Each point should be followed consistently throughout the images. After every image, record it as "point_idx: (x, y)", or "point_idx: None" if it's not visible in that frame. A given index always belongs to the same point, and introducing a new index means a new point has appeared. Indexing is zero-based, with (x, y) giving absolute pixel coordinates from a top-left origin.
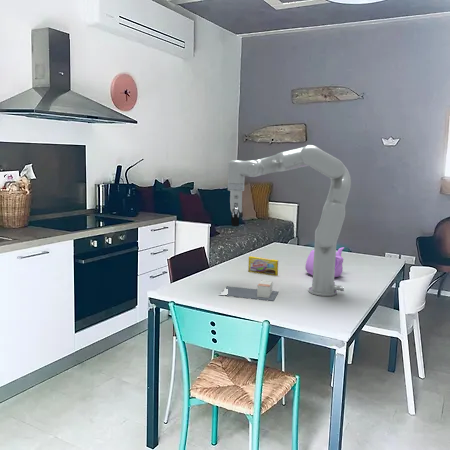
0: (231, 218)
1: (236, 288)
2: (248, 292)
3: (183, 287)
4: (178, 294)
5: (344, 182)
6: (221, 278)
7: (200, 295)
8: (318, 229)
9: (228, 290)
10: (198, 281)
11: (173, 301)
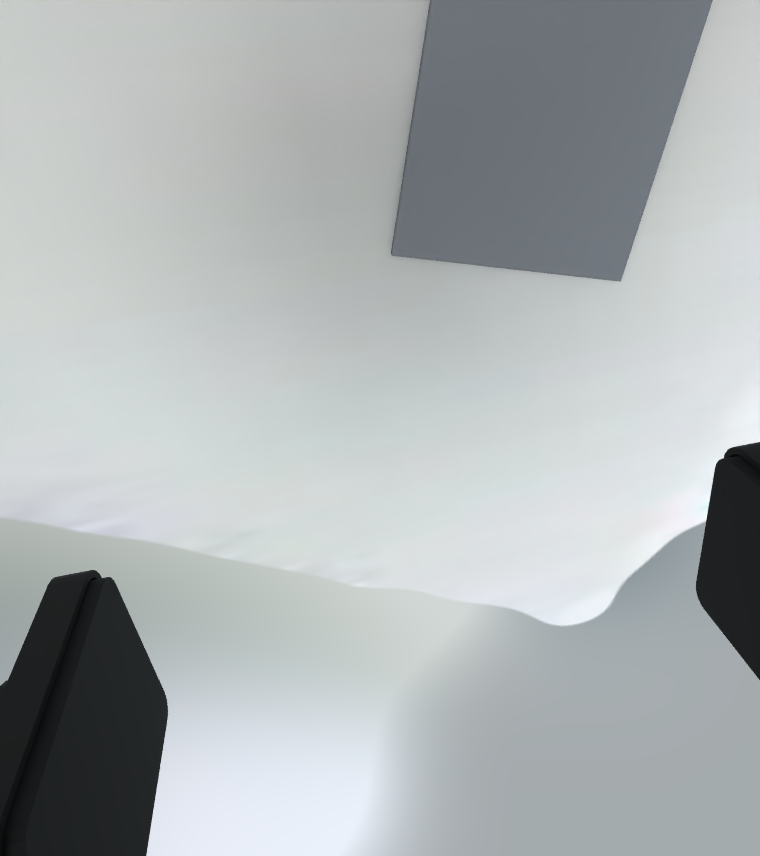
0: (135, 843)
1: (446, 162)
2: (556, 34)
3: (455, 520)
4: (604, 506)
5: None
6: (127, 339)
7: (620, 390)
8: None
9: (513, 223)
10: (284, 477)
11: None
